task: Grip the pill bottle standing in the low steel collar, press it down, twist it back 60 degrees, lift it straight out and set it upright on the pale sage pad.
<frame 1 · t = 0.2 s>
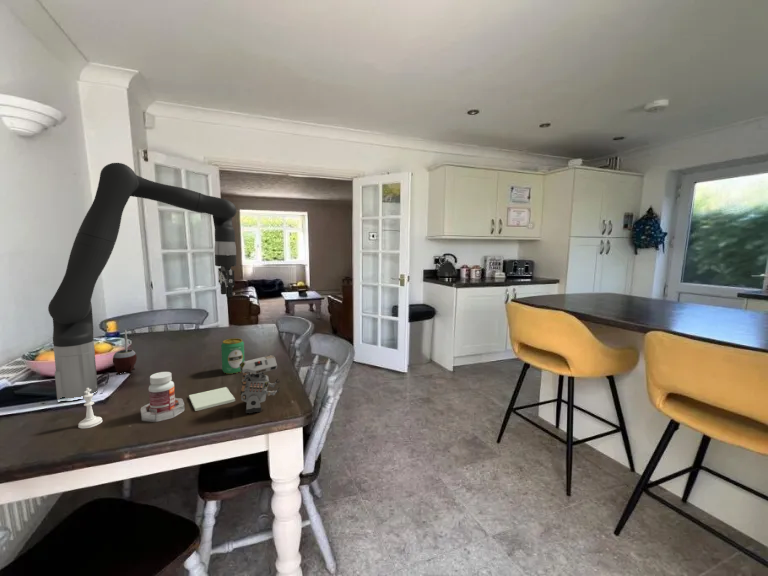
hand: (226, 295, 130), 29 cm above the table, tool pointing down, fingers open, 8 cm apart
beverage can: (233, 371, 130), on the table
pill bottle: (163, 413, 96), resting in steel collar
steel collar: (163, 412, 96), on the table
chess piece: (90, 424, 90), on the table
sage pad: (211, 399, 105), on the table
mate gourd: (125, 372, 127), on the table
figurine: (260, 406, 102), on the table
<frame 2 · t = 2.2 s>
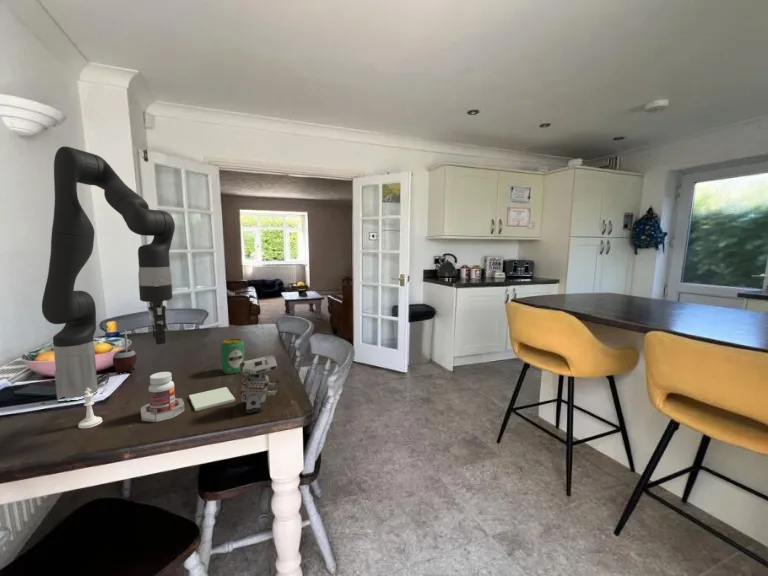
hand: (159, 340, 94), 21 cm above the table, tool pointing down, fingers open, 8 cm apart
nothing on the table moved.
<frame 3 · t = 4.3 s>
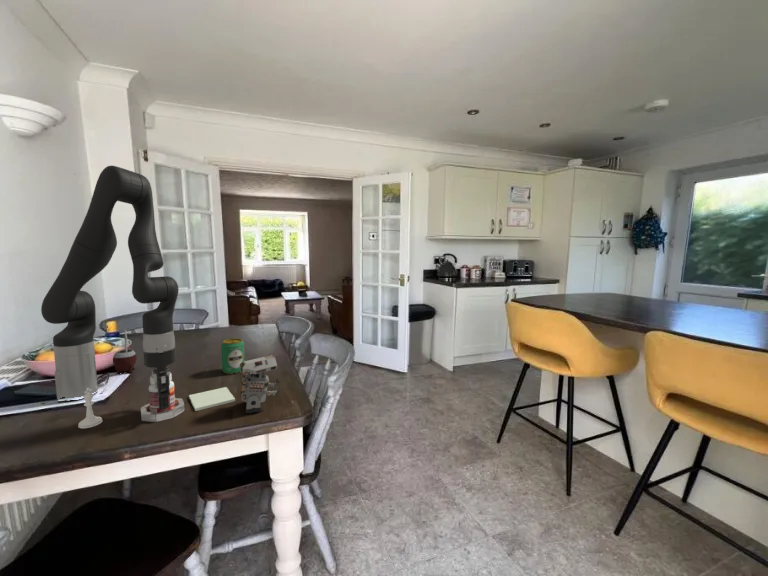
hand: (162, 403, 96), 3 cm above the table, tool pointing down, fingers closed on pill bottle, 6 cm apart
pill bottle: (163, 413, 96), resting in steel collar, touching gripper
everything else where it was.
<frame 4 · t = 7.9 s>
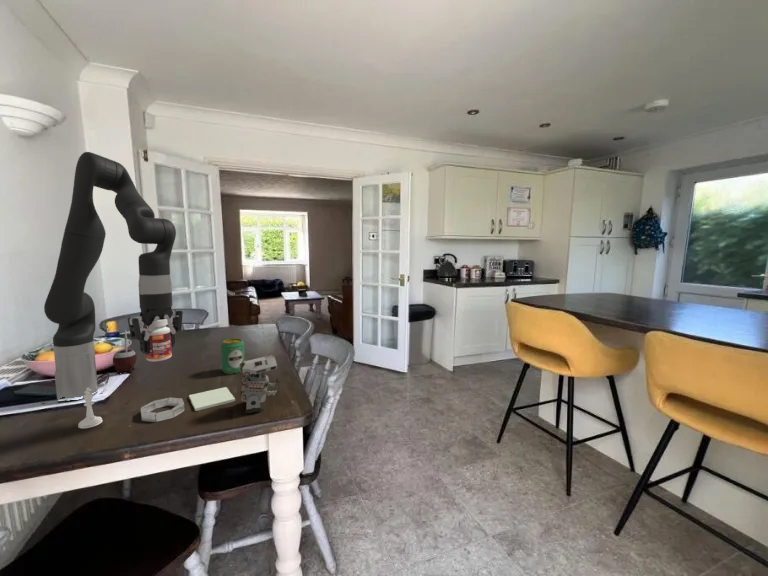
hand: (158, 349, 94), 19 cm above the table, tool pointing down, fingers closed on pill bottle, 6 cm apart
pill bottle: (159, 359, 94), point 16 cm above the table, touching gripper
everything else where it was.
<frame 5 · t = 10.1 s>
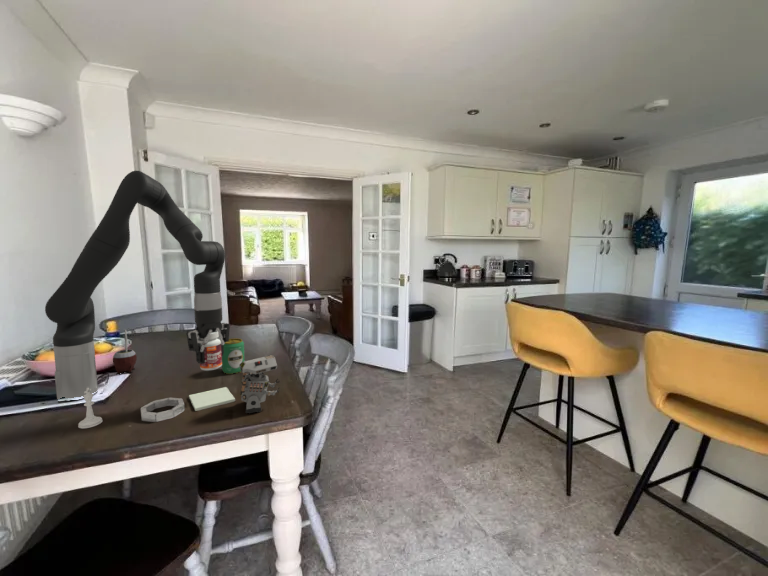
hand: (210, 359, 104), 13 cm above the table, tool pointing down, fingers closed on pill bottle, 6 cm apart
pill bottle: (211, 367, 104), point 10 cm above the table, touching gripper
everything else where it was.
when the fingers open (5 cm above the table, at t = 11.8 s): pill bottle drops 2 cm, resting on sage pad.
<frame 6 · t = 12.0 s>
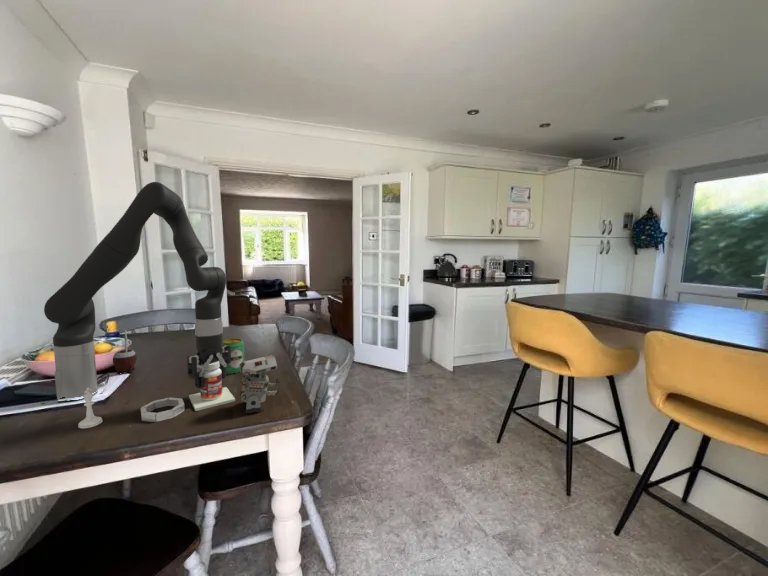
hand: (211, 382, 105), 5 cm above the table, tool pointing down, fingers open, 7 cm apart
pill bottle: (211, 397, 105), point 1 cm above the table, touching sage pad
everything else where it was.
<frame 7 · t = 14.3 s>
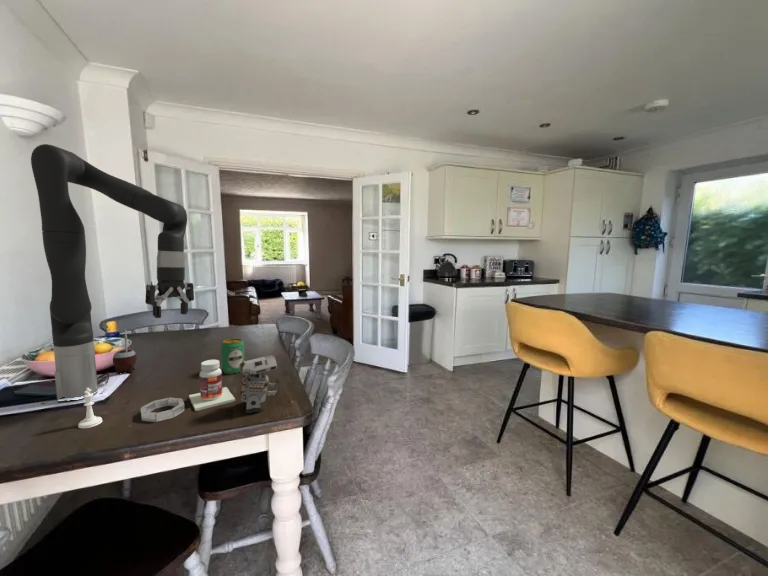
hand: (171, 315, 107), 25 cm above the table, tool pointing down, fingers open, 8 cm apart
nothing on the table moved.
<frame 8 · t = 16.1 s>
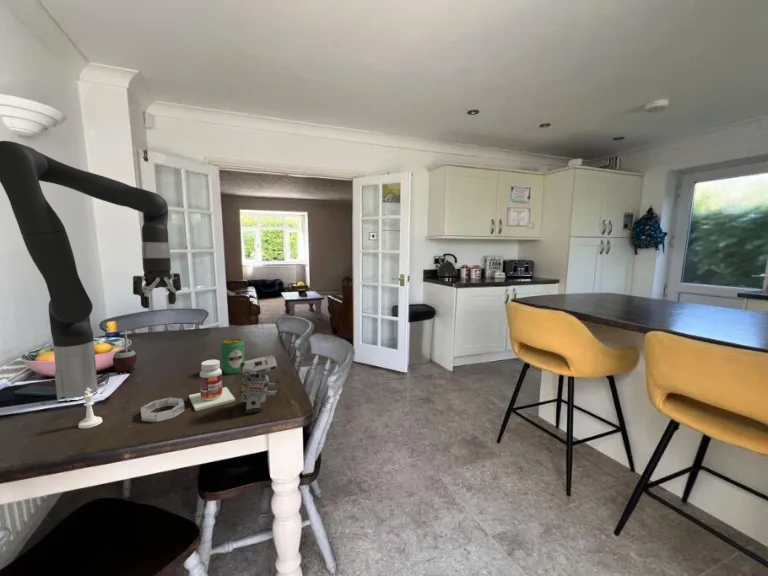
hand: (159, 305, 110), 28 cm above the table, tool pointing down, fingers open, 8 cm apart
nothing on the table moved.
at the end: pill bottle 0.0 cm off-centre on the sage pad, point 0.6 cm above the sage pad's base; pill bottle tilted 0°; the gripper is holding nothing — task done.
